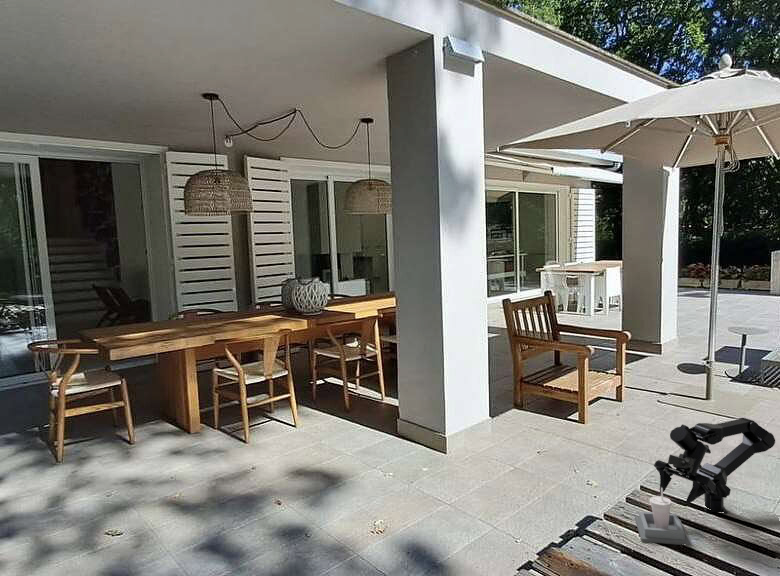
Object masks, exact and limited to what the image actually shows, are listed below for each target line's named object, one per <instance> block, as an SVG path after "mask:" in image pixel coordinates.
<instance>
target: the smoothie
mask: <svg viewBox="0 0 780 576" xmlns="http://www.w3.org/2000/svg"><path fill="white" fill-rule="evenodd" d="M649 504H650V505H651V512H653V517H654V523H655V528H661V529H668V524H669V515H670V513H671V506H672V500H671V499H670V498H668V497H665V496H664V492H663V488H661V493H660V495H654V496H651V497H650V498H649Z"/></svg>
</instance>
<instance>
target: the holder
mask: <svg viewBox="0 0 780 576" xmlns="http://www.w3.org/2000/svg"><path fill="white" fill-rule="evenodd" d="M638 513H639V515H638V516H637V515H634V520H635V525H636V526H637V531H638V535H639V538H640V541H641V542H643V543H655V544H656V543H657V544H666V545H678V546H679V545H681V544H683V545H682V546H689V545H691V540H690V539H689V536H688V534H687V532H686V530H685V527H684V525H683V523H682V521H681V519H679V517H678V514H677V513H671V512H670V515H669V524H668V529H661V528H655V523H654V517H653V512H652V511H643V510H642V511H638ZM684 544H686V545H684Z"/></svg>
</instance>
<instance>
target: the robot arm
mask: <svg viewBox="0 0 780 576" xmlns="http://www.w3.org/2000/svg"><path fill="white" fill-rule="evenodd" d="M740 434H742V442H741V443H739V444H738V445H737V446H736V447H735V448H734V449H732V450H731V451H730V452H729V453H727V455H725V456H724V457H723V458H722V459H720V460H719V461H718V462H717V463H715V464H710V463H708V462H705V463H704V464H703V465H701V464H702V462H703V459H704V457H705V455H706V454H711V449H710V446H712V445H713V446H714V445H716V444H719V443H720V442H722V441H723V439H725V438H728V437H731V436H736V435H740ZM669 437H670V440H671V441H673V442H674V443H675V444H676V445H677V446H678V447H679V448H680V449H682V450H683V453H680V454H679V455H678V456H677V455H674V454H669V456H668V461H667V462H665V461H663V460H660V459H658V460H656V461H655V463H654V464H653V467H654V468H655V469H656V471H657V472H658V473H659V481H660V482H659V493H660V494H661V488H663V493H664V492H665V491H666V489H667V487H668V485H669V484H670V482H671V480H672V479H673V478H672V476H673V475H675V476H677V477H678V478H679V477H680V478H683V479H685V480H687V481H690V482H692V488H691V489H690V491H689V493H688V495H687V498H686V501H685V503H686V504H687V505H690V503H692V502H694V501H695V500H697V499H698V498H700V497H702V496H704V502H705V506H706V507H707V508H709V509H711V511H710V510H707V509H704V511H705V512H706V513H711V514H712V512H724V513H723V514H726V513H727V514H728V511H727V509H726V507H725V506H724V505H725V504H724V502H725V501H724V499H726V498H728V496H730V494H731V488H729V486H727V483H728V481H727V480H728V477H729V476H730V475H731V474H732V473H733V472H734V471H736V470H737V469H739V467H741V466H742V465H743V464H744V463H745V462H746V461H749V459H751V457H752V456H754V455H755V454H758V453H759V454H760V453H763V452H764V453H765V452H767V451H768V450H770V449H771V448H773V447H774V446H775V444H776V438H775V436H774V434H773V433H772V432H770V431H768V430H767V429H765V428H764V427H762V426H760V424H758V423H757V421H755V420H753V419H750V418H746V417H739V418H738V419H733V420H729V421H728V420H727V421H725V422H720V423H708V422H700V423H696V424H695V425H694V426H692V427H689V426H688V425H685V424H681V425H680V426H677V427H675V428H673V429H672V430H671V431H670V434H669ZM704 443H706V444H704ZM709 445H710V446H709Z"/></svg>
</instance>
